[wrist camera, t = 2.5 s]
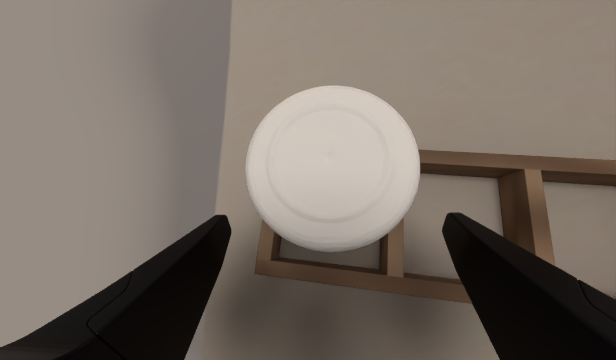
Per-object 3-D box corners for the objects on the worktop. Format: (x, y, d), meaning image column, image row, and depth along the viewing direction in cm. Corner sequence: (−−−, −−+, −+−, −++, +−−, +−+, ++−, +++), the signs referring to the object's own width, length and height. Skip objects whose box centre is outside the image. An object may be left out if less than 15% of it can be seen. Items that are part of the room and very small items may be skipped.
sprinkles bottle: (370, 219, 18) (472, 174, 5) (326, 252, 18) (308, 299, 5) (336, 175, 19) (344, 48, 6) (293, 207, 19) (208, 143, 6)
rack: (684, 330, 14) (768, 353, 11) (264, 274, 18) (251, 280, 15) (643, 175, 16) (704, 163, 14) (281, 153, 20) (273, 140, 17)
